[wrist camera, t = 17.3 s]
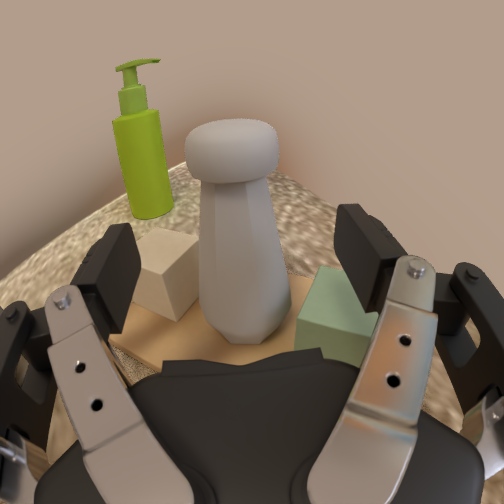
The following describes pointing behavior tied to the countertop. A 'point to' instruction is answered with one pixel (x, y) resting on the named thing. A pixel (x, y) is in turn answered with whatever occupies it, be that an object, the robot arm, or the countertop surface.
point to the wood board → (202, 335)
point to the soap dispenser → (141, 148)
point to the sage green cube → (334, 319)
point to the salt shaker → (238, 229)
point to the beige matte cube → (168, 272)
